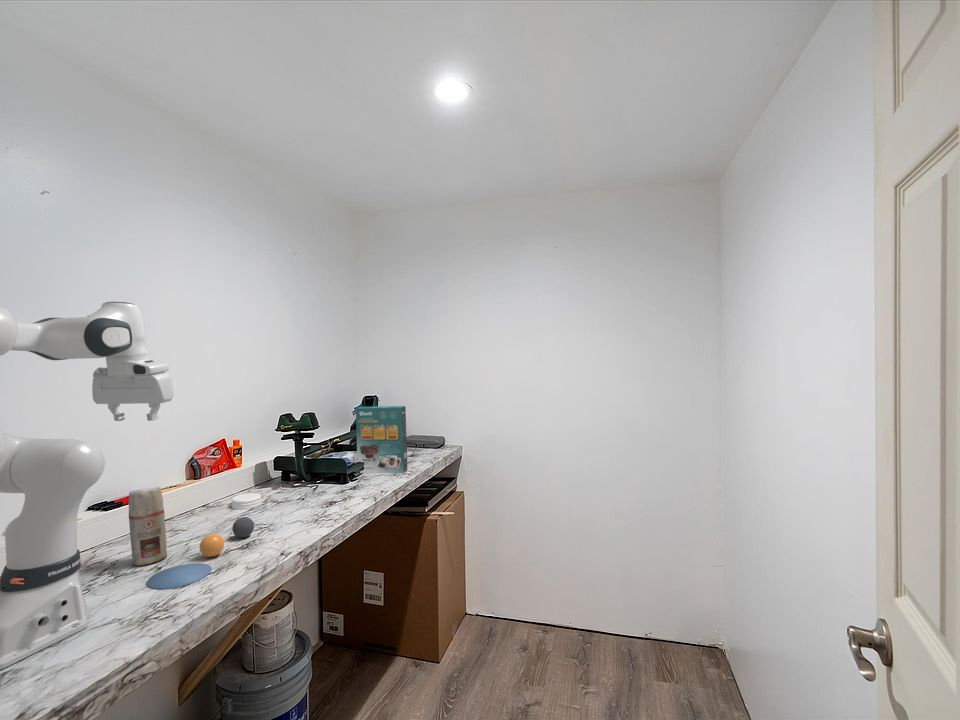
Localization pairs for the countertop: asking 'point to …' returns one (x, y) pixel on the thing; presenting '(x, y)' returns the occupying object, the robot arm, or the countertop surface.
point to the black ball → (243, 527)
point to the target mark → (178, 576)
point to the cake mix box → (382, 439)
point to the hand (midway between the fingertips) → (136, 420)
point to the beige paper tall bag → (147, 526)
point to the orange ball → (211, 545)
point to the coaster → (246, 501)
